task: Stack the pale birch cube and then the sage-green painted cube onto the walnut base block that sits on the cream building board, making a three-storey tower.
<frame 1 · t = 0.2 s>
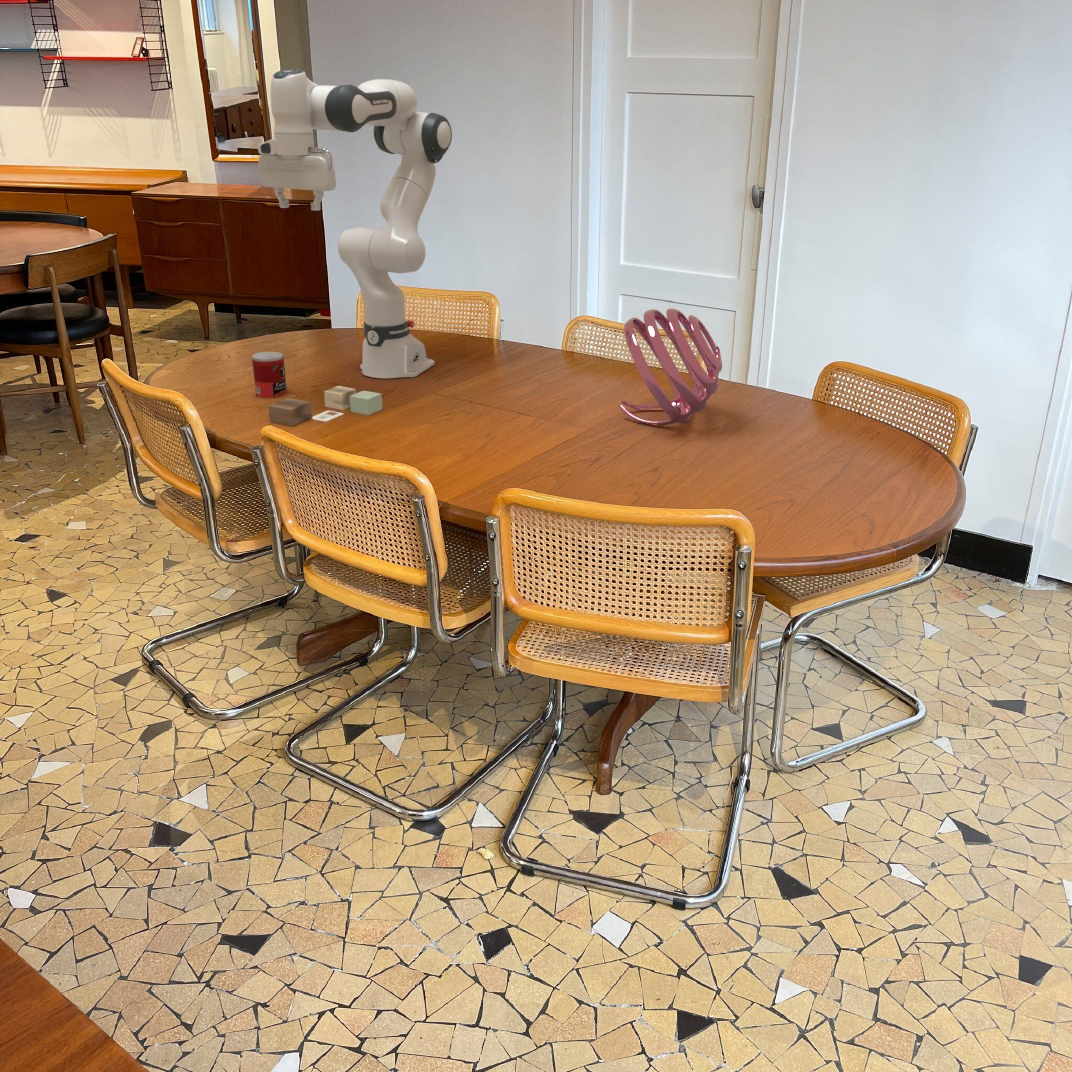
hand: (300, 209, 238), 47 cm above the table, fingers open, 8 cm apart
birch cube: (341, 409, 252), on the table
sage cube: (366, 414, 248), on the table
canned food: (272, 397, 260), on the table
board: (297, 421, 243), on the table
walnut base: (291, 419, 241), point 1 cm above the table, touching board
spiral basket: (667, 420, 247), on the table
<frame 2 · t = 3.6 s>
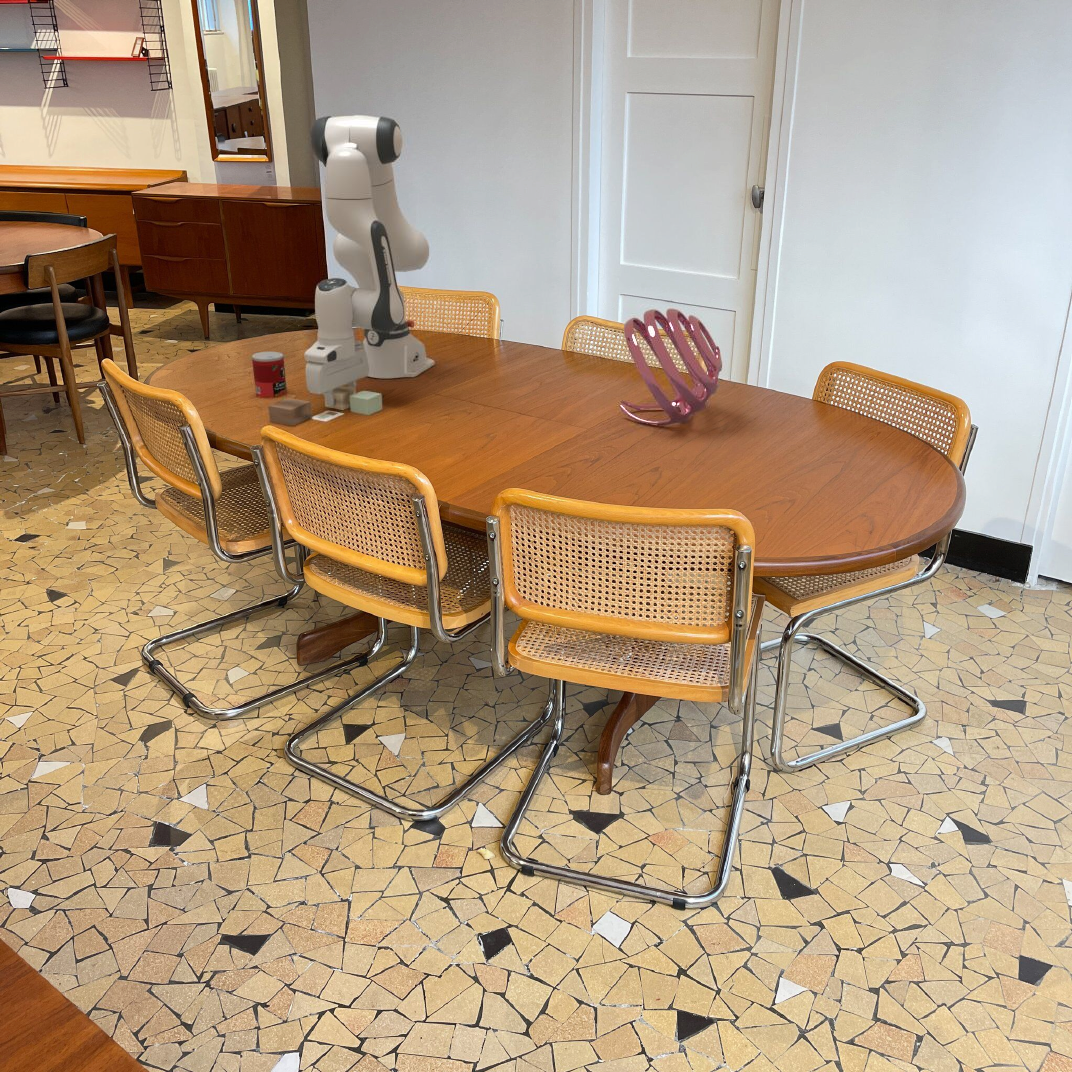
hand: (340, 402, 251), 2 cm above the table, fingers closed on birch cube, 5 cm apart
birch cube: (341, 409, 252), on the table, touching gripper
everything else where it was.
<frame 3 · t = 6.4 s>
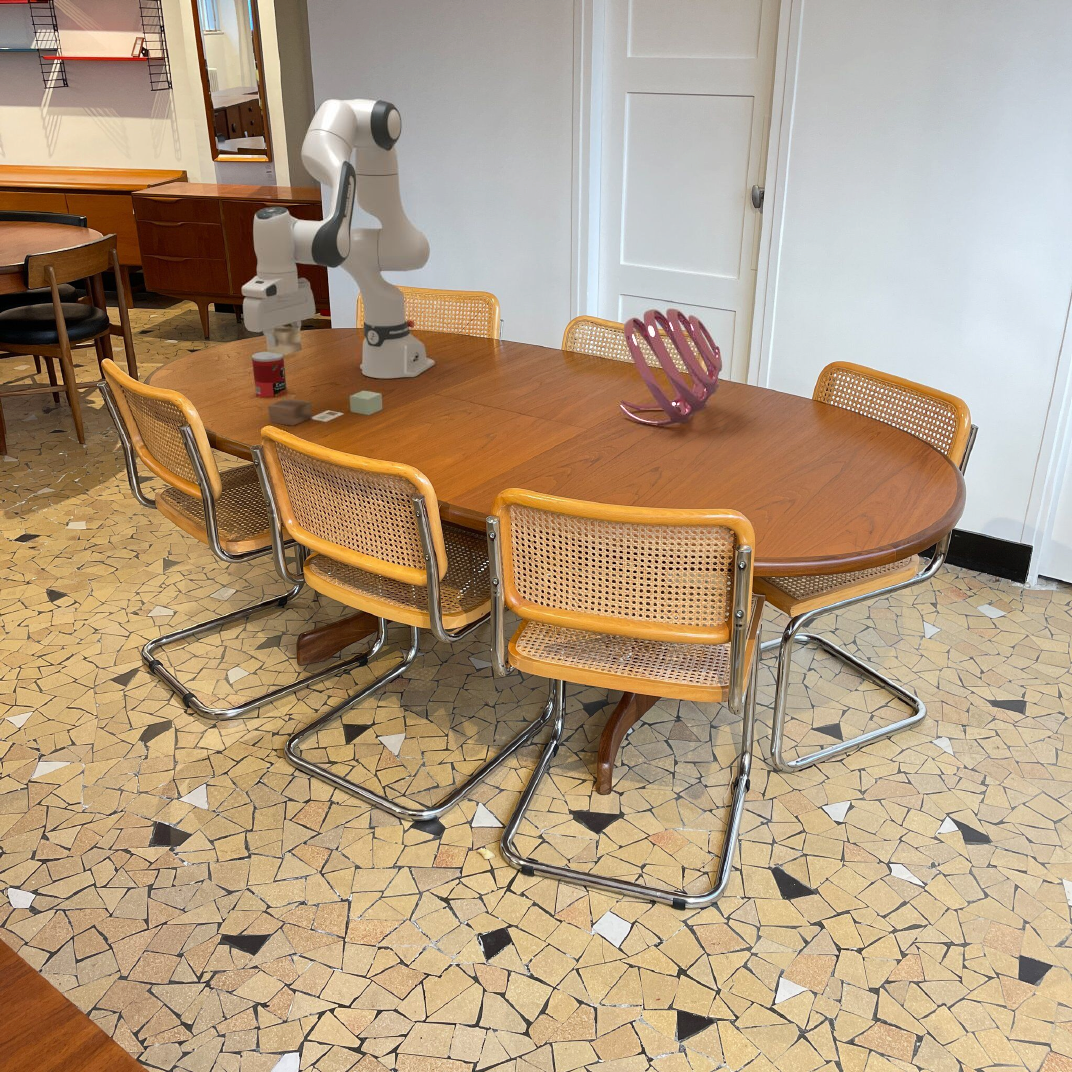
hand: (283, 343, 233), 19 cm above the table, fingers closed on birch cube, 5 cm apart
birch cube: (284, 350, 233), point 18 cm above the table, touching gripper
everything else where it was.
when the fingers open (7 cm above the table, at t = 9.0 s): birch cube stays where it is, resting on walnut base.
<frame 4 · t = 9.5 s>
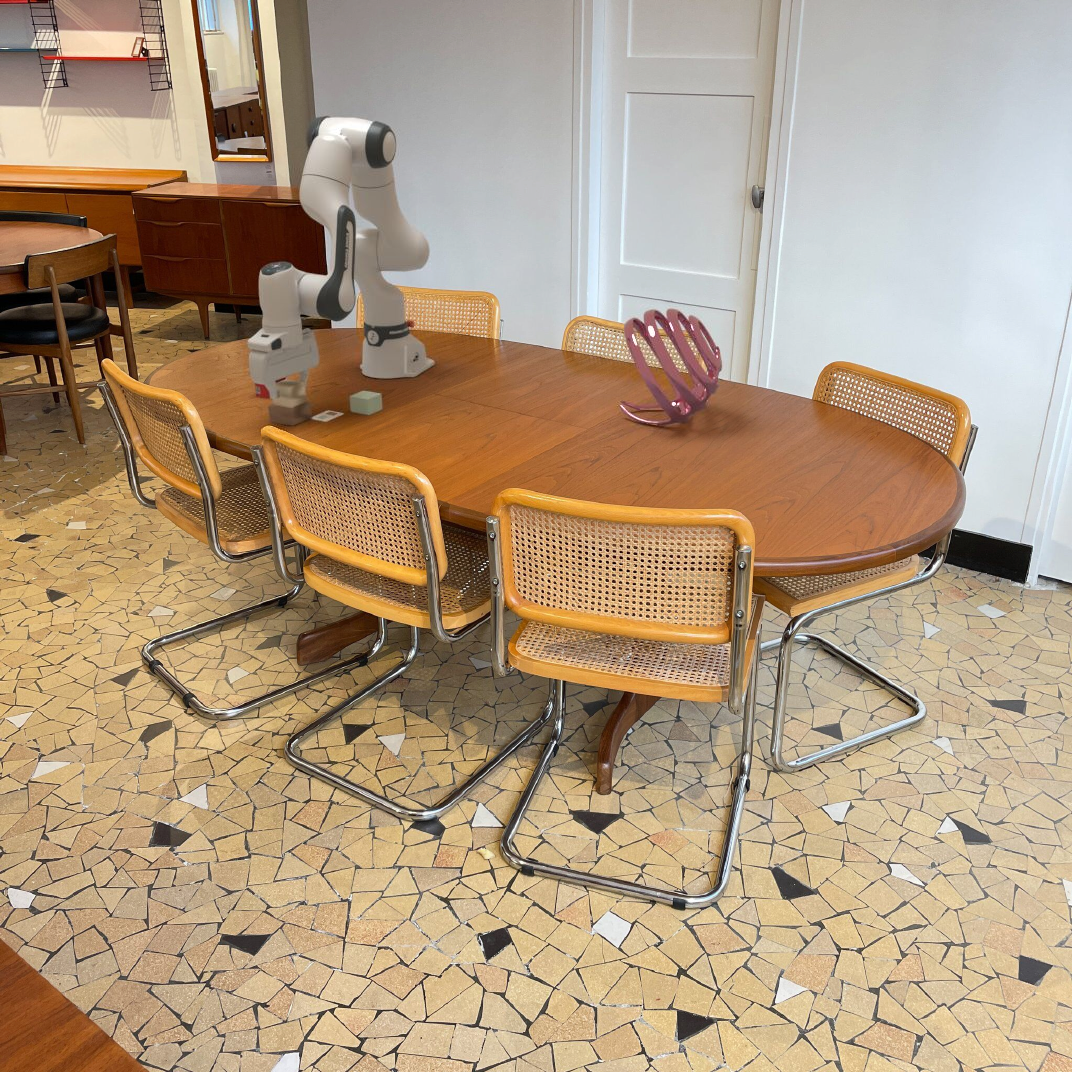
hand: (288, 393, 238), 7 cm above the table, fingers open, 8 cm apart
birch cube: (290, 403, 239), point 5 cm above the table, touching walnut base
walnut base: (291, 419, 241), point 1 cm above the table, touching birch cube, board
everything else where it was.
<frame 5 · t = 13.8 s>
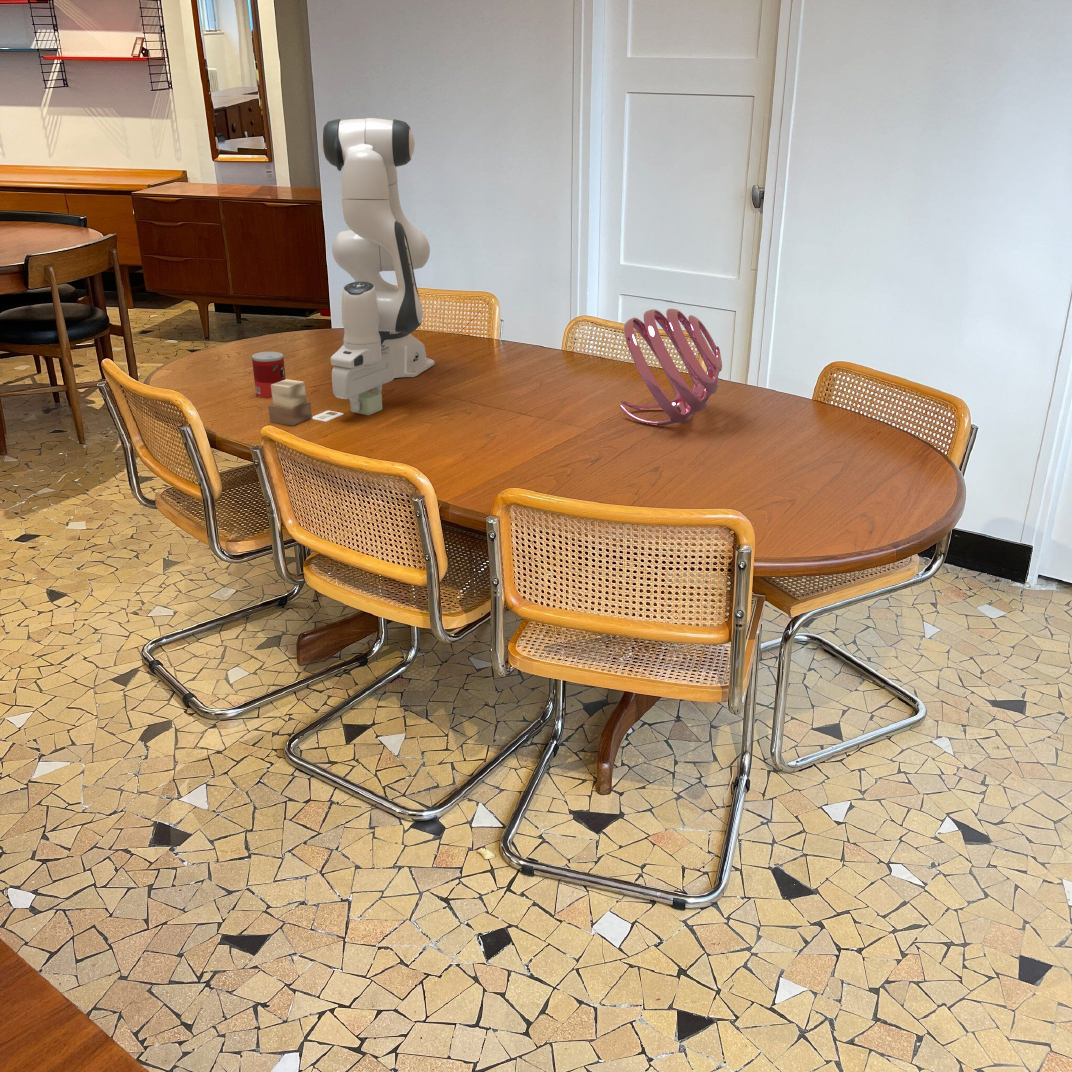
hand: (366, 407, 247), 2 cm above the table, fingers closed on sage cube, 5 cm apart
sage cube: (366, 414, 248), on the table, touching gripper
everything else where it was.
when the fingers open (12 cm above the table, at t = 19.8 s): sage cube stays where it is, resting on birch cube.
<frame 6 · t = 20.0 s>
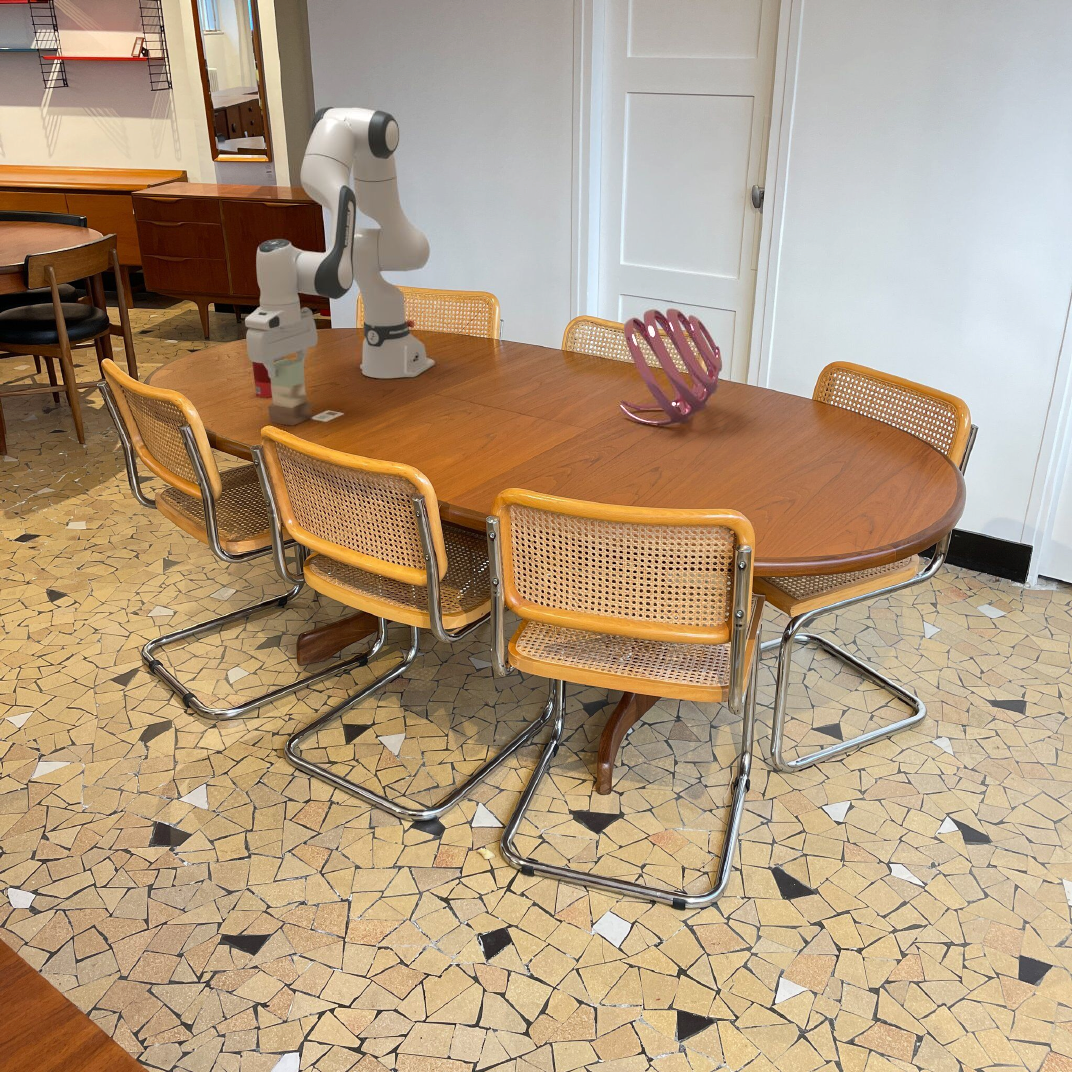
hand: (286, 372, 236), 12 cm above the table, fingers open, 8 cm apart
birch cube: (290, 403, 239), point 5 cm above the table, touching sage cube, walnut base
sage cube: (288, 383, 237), point 10 cm above the table, touching birch cube
everything else where it was.
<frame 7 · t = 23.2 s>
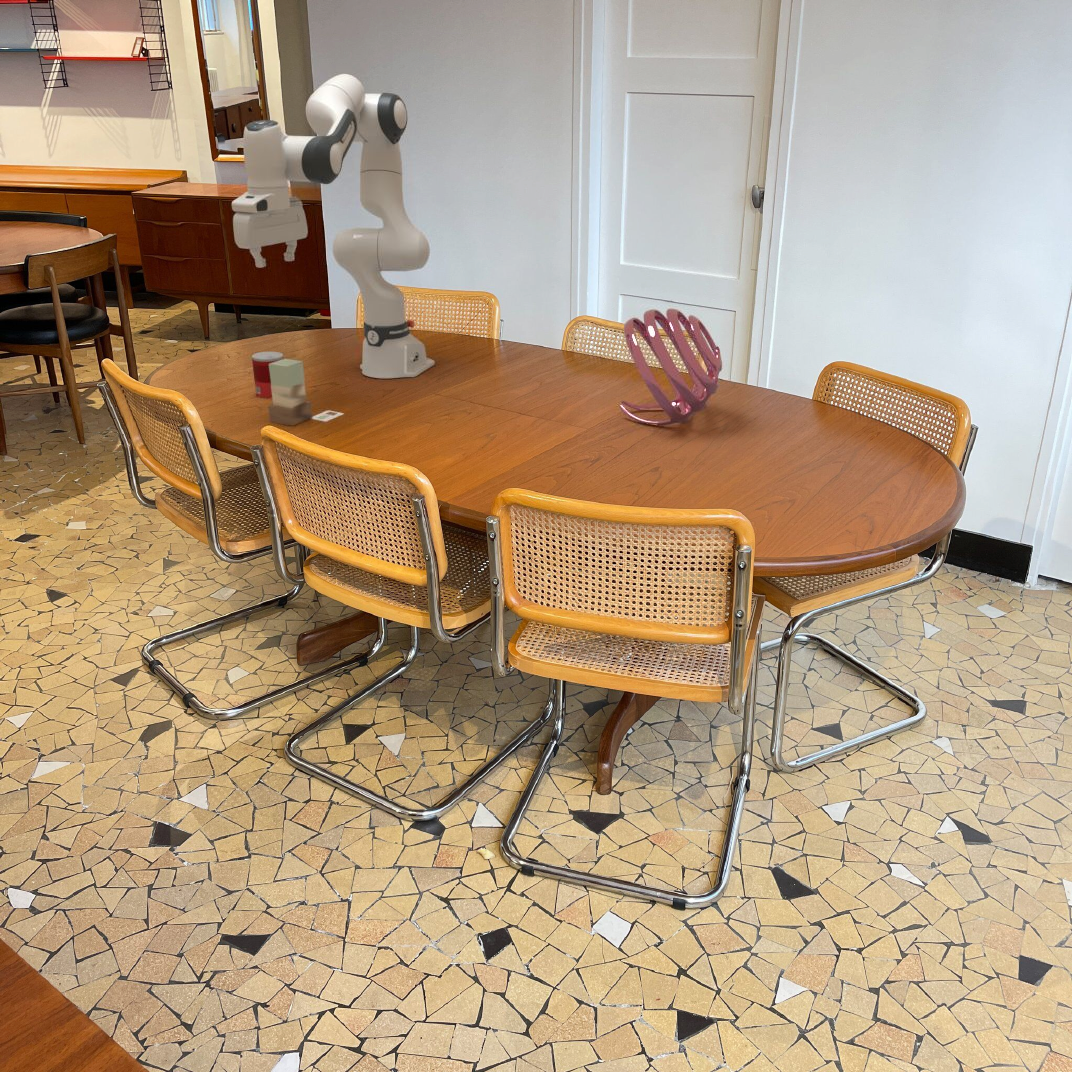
hand: (275, 263, 228), 37 cm above the table, fingers open, 8 cm apart
nothing on the table moved.
at the end: birch cube 0.1 cm off-centre on the walnut base, point 4.0 cm above the walnut base's base; sage cube 0.0 cm off-centre on the birch cube, point 5.0 cm above the birch cube's base; sage cube tilted 2° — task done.
